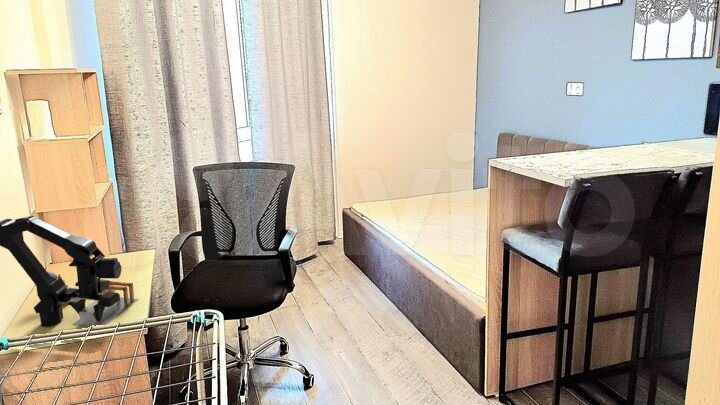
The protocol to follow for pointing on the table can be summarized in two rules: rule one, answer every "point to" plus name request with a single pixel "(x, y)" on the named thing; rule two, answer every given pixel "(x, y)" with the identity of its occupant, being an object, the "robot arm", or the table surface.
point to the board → (112, 313)
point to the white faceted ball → (56, 278)
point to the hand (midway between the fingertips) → (92, 320)
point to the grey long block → (90, 318)
